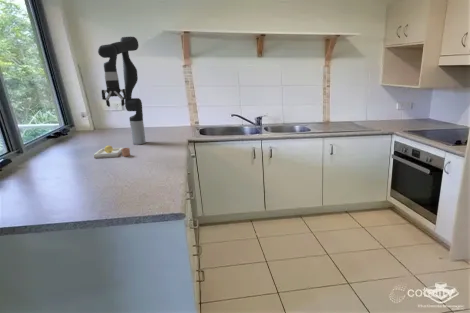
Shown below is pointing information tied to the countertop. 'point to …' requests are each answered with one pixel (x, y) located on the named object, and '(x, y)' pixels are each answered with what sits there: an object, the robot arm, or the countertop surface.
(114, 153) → the tray
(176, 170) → the countertop surface
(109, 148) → the ball
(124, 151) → the cup
